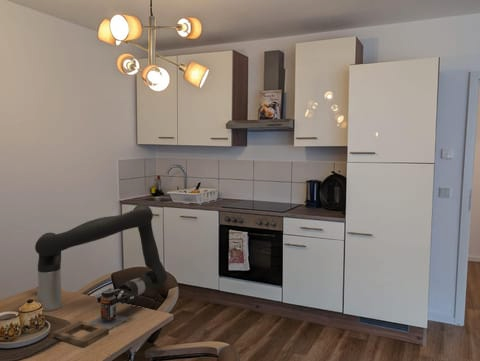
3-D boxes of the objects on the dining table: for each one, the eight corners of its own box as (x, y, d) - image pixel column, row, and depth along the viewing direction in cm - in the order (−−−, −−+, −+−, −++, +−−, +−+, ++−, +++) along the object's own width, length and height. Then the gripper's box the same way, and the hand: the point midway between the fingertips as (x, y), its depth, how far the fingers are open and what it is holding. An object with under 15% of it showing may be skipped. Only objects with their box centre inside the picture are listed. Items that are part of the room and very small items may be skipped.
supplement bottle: (97, 319, 164) (97, 292, 163) (107, 313, 170) (106, 287, 169) (109, 321, 162) (108, 294, 161) (119, 316, 168) (118, 289, 167)
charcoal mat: (86, 324, 164) (86, 323, 164) (108, 313, 174) (108, 312, 174) (108, 330, 158) (108, 329, 158) (130, 319, 169) (130, 318, 169)
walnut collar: (53, 337, 152) (53, 332, 152) (79, 325, 163) (79, 320, 163) (84, 347, 145) (83, 342, 145) (108, 333, 155) (108, 328, 155)
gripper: (119, 278, 181) (90, 290, 166) (145, 283, 175) (116, 296, 160) (120, 294, 182) (91, 307, 167) (145, 300, 175) (117, 314, 160)
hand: (103, 302), depth 163 cm, fingers closed on supplement bottle, 6 cm apart
